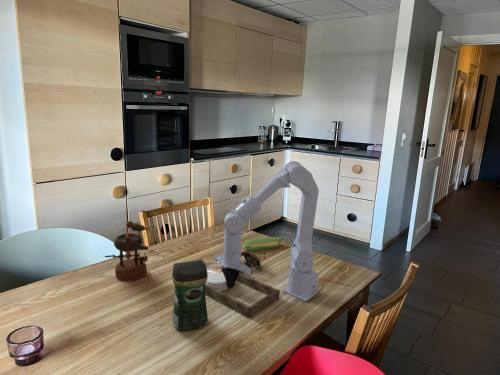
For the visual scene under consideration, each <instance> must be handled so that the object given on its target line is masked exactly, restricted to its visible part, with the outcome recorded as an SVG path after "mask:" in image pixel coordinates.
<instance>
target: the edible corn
mask: <svg viewBox="0 0 500 375" xmlns="http://www.w3.org/2000/svg"><path fill="white" fill-rule="evenodd" d="M282 238H283V236H276V237H275V236H274V237H263V238H250V239H247V240H246V241H245V242H244V244H243V248H244V249H245V250H247V249H249V250H250V251H251V252H257V251H262V250H268V249H275V248H280V246H281V244H282V243H283V240H282Z"/></svg>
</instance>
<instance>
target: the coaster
mask: <svg viewBox="0 0 500 375" xmlns="http://www.w3.org/2000/svg"><path fill="white" fill-rule="evenodd" d="M207 274H208V278H207V281H206V285H208V286H210V287H212V288H214V289H216V290H218V291H220V292H225V291H229V290H230V289H229V288H228V287H227V283H226V279H225V276H224V274H223V272H221V273H210V272H208V271H207Z"/></svg>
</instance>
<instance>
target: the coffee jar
mask: <svg viewBox="0 0 500 375" xmlns="http://www.w3.org/2000/svg"><path fill="white" fill-rule="evenodd" d="M207 272H208V267H207V264H206V262H204V260H203V259H202V258H200V259H195V260H188V261H182V262H175V263H174V264H173V266H172V274H171V279H172V283H173V284H174V298H173V308H172V309H173V310H172V324H173V326H174V328H175V329H176V330H178V331H181V332H185V331H190V330H195V329H199V328H201V327H204V326H206V324H207V323H208V308H207V299H206V295H205V284H206V281H207V278H208V274H207Z"/></svg>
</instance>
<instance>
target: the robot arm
mask: <svg viewBox="0 0 500 375" xmlns="http://www.w3.org/2000/svg"><path fill="white" fill-rule="evenodd" d="M290 184H291V185H292V186H294V187H295V188H298V189H299V190H300V191H301V199H300V205H299V206H300V207H299V215H298V222H297V229H296V236H295V238H294V240H293V244H292V246H291V248H290V250H289V256H290V257H291V262H290V264H289V271H288V272H289V273H288V284H287V286H286V287H285V288H283V289H282V291H283V293H286V294H288V295H290V296H293V297H295V298H297V299H299V300H302V301H304V302H308V301H309V300H311V299H312V298H313V297H315V296H316V295H317V294H318V293H319V291H318V289H319V279H320V277H319V276H320V275H319V273H318V272H316V271H315V270H314V269H313V267H314V265H315V260H314V257H313V244H312V243H313V242H312V239H313V235H314V234H313V232H314V226H315V220H316V219H315V218H316V212H317V206H318V200H319V199H318V198H319V192H320V191H319V187H318V185H317V182H316V180H315V179H314V177H313V173H311V171H310V170H308V168H307V167H304V165H302V164H301V163H300V162H299V161H295V160H293V161H290V162H288V163H287V164H286V165H285V166H283V167H282V168H280V169H279V170H278V171H277V172H276V174H275V175H274V176H272V177H271V178H270V179H269V181H268V182H266V184H265V185H264V186H263V187H262V188H261V189H260V190H259V191H258V192H257V193H256V194H255V195H251V196H250V195H248V196H247V197H243V198H242V199H241V203H240V204H238V205H237V206H236V207H235V209H234V208H232V209H231V212H229V213H227V214H226V215H225V217H224V219H223V221H224V222H223V223H224V236H223V255H222V254H215V255H213V262H215V263H219V264H221V267H220V268H221V269H220V270H221V271H222V272H223V274H224V276H225V279H226V283H227V287H228V288H229V289H228V290H231V289H233V288H235V285H236V282H237V281H236V279H237V277H238V275H239V273H242V274H244V275H246V276H249V275H250V274H251V272H252V271H251V270H252V268H250V267H248V266H246V265H245V264H244V263H245V262H243V261H241V259H242V258H241V257H242V256H241V252H242V242H243V241H242V239H243V237H242V236H243V235H242V231H243V230H244V226H245V224H247V223H249V221H250V220H251V219H252V218H253V217H255V216H256V215H257V214H258V212H260V211H261V210H262V204H263V203H264V202H265V201H267V200H268V199H269V198H271V197H272V195H274V194H275V193H276V192H278V190H280V189H282V188H283V189H284V188H285V189H287V188H291V185H290Z"/></svg>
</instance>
